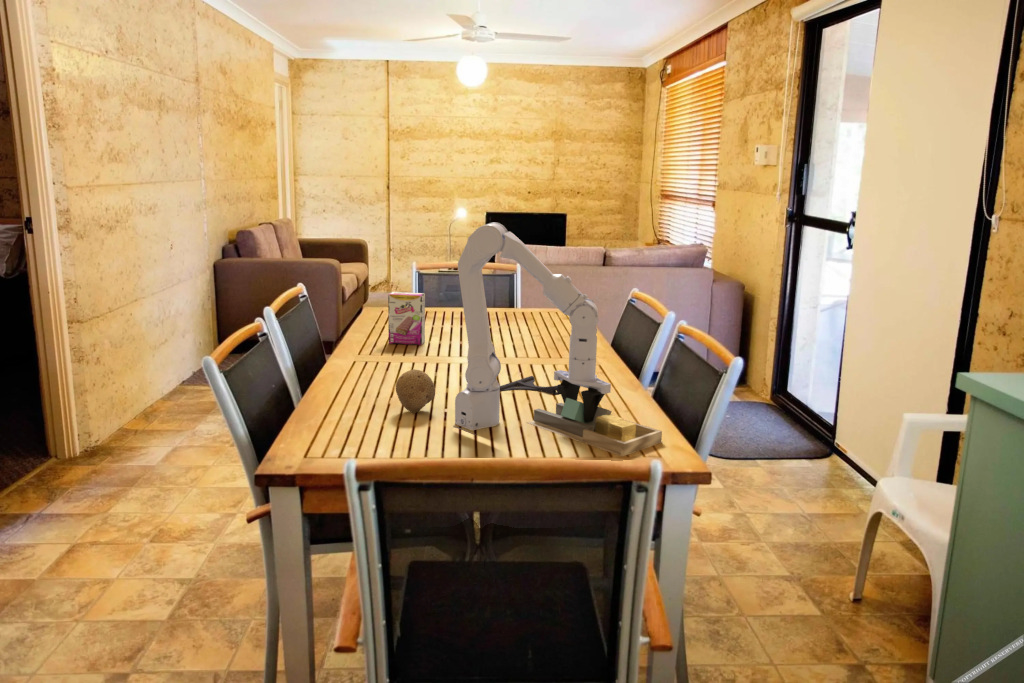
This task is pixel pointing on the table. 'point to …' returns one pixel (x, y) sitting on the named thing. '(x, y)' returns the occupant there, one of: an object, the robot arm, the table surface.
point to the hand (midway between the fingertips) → (579, 418)
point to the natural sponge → (415, 390)
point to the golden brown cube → (604, 423)
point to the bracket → (529, 386)
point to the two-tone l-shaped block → (580, 411)
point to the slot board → (588, 436)
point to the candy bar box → (406, 318)
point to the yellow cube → (621, 430)
